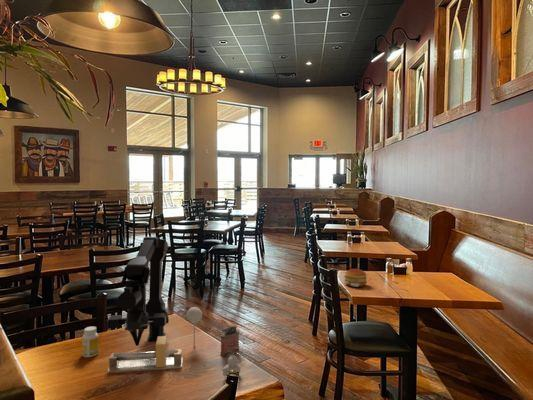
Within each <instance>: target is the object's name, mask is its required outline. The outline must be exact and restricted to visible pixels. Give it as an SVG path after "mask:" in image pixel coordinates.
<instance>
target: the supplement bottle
mask: <svg viewBox="0 0 533 400" xmlns="http://www.w3.org/2000/svg"><path fill="white" fill-rule="evenodd" d="M97 331H98V330H97V326H87V327H85V328H84V331H83V332H84V334H83V335H82V337H81V338H82V339H81V341H82V343H81V345H82V349H81V350H82V351H81V352H82V356H83V357H84V358H92V357H95V356H97V355H98V354H99V333H98V332H97Z"/></svg>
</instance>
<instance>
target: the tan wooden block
mask: <svg viewBox="0 0 533 400" xmlns="http://www.w3.org/2000/svg"><path fill="white" fill-rule="evenodd" d="M167 341H168V340H167V335H165V336H158V338H157V341H156V343H155V351H156V367H165V365H166V359H167V358H165V350H167V349H168V348H167V344H168V343H167Z"/></svg>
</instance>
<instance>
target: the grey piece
mask: <svg viewBox="0 0 533 400" xmlns="http://www.w3.org/2000/svg"><path fill="white" fill-rule="evenodd" d="M182 350H183V349H182V348H178V349H169V350H165V358H167V359H166V365H165V367H156V350H152V351H135V352H134V351H133V352H113V353H111V354H110V355H109V358H108V365H109V366H108V369H107V374H111V373H112V374H113V373H126V372H127V373H128V372H143V371H144V372H145V371H157V370H160V371H161V370H169V369H170V370H172V369H182V368H183V361H184V359H183V357H182V352H183V351H182Z"/></svg>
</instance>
